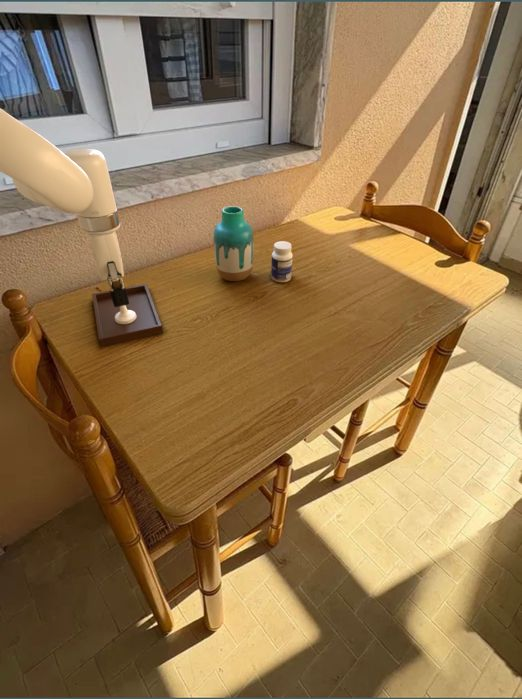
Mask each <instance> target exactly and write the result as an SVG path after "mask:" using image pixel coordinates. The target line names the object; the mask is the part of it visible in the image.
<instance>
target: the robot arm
mask: <svg viewBox="0 0 522 699" xmlns="http://www.w3.org/2000/svg"><path fill="white" fill-rule="evenodd" d="M109 172H110V171H109V168H108V163H107V160H106V157H105V156H104V154H103V153H102V152H101V151H99V150H98V149H95V148H94V149H93V148H75V149H70V150H68V151H66V152H63V151H61V150H60V149H59V148H58V147H57V146H55V145H54V144H53V143H52V142H50V141H49V140H47V138H45V137H44V136H42V135H41V134H39V133H38V132H36V131H35V130H33V129H32V128H31V127H29V126H27V125H26V124H24V122H21V121H20V120H18V119H16V118H15V117H13V116H12V115H11V114H9V112H6V111H5V110H4V109H2V107H0V173H2V174H4V175H6V176H8V177H9V178H11V179H12V183H13V185H14V187H15V188H16V191H18V193H19V194H21V195H22V196H23V197H24V198H26V199H28V200H30V201H31V202H33V203H37V204H39V205H42V206H46V207H49V208H51V209H54V210H57V211H59V212H62V213H65V214H72V215H74V214H75V215H76V217H77V220H78V224H79V227H80V231H81V232H82V233H84V234H86V235H87V236H88V240H89V245H90V248H91V252H92V255H93V259H94V261H95V265H96V269H97V272H98V275H99V280H100V281H102V282H105V281H107V283H108V285H109V291H110V294H111V297H112V301H113V304H114V307H119V306H124V305H128V304H129V300H128V296H127V292H126V287H125V285H124V281H123V278H124V277H125V271H124V270H125V269H124V264H123V259H122V253H121V248H120V243H119V240H118V234H117V230H119V229H120V228H121V221H120V215H119V212H118V208H117V204H116V199H115V194H114V190H113V187H112V185H113V184H112V181H111V176H110V173H109Z"/></svg>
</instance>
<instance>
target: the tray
mask: <svg viewBox="0 0 522 699" xmlns="http://www.w3.org/2000/svg"><path fill="white" fill-rule="evenodd" d="M125 288H126V292H127V296H128V300H129V304H128V305H126V308H127V310H132V311H134V312H135V313H136V316H137V317H136V319H135V320H134V321H133V322H131V323H128V324H119V323H117V322H116V321H115V315H116V314H117V313H118V312H120V306H119V307H114V304H113V301H112V297H111V294H110V290H105V291H100V292H95V293H91V294H92V295H91V297H92V302H93V309H94V316H95V323H96V329H97V336H98V342H99V343H100V347H103V348H104V347H107V346H111V345H115V344H116V345H117V344H120V343H125V342H128V341H134V340H138V339H142V338H146V337H151V336H155V335H159V334H163V333H164V330H163V324H162V322H161V320H160V317H159V314H158V311H157V308H156V305H155V302H154V300H153V297H152V294H151V292H150V290H149V286H148V283H144V284H137V285H132V286H127V287H125Z"/></svg>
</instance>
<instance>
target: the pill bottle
mask: <svg viewBox="0 0 522 699" xmlns="http://www.w3.org/2000/svg"><path fill="white" fill-rule="evenodd" d="M293 256H294V255H293V252H292V243H290V242H289V241H285V240H280V241H276V242H275V243H274V244H273V251H272V253H271V267H270V276H271V279H272V281H274V282H276V283H287V282H288V281H291V279H292V274H293V273H292V272H293V271H292V270H293V260H294V259H293Z"/></svg>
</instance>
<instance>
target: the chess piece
mask: <svg viewBox="0 0 522 699" xmlns="http://www.w3.org/2000/svg"><path fill="white" fill-rule="evenodd" d="M136 317H137V316H136V313H135V312H134V311H132V310H127V308H126V305H124V306H120V312H118V313H117V314H116V315H115V321H116V322H117V323H119V324H128V323H131V322H133V321H134V320H135V319H136Z"/></svg>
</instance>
